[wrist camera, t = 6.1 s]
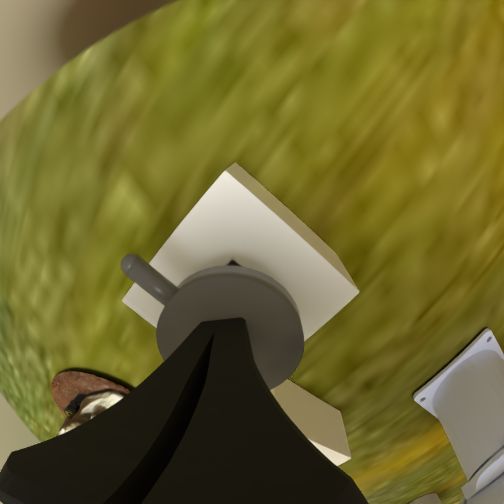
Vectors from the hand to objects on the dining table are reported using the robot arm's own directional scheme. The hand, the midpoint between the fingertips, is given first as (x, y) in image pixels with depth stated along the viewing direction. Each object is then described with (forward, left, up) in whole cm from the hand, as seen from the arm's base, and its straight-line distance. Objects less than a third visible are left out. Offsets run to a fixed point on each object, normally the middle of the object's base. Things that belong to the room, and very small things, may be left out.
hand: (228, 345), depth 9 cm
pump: (+1, 0, -5) cm, 5 cm away
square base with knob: (0, 0, -8) cm, 8 cm away
